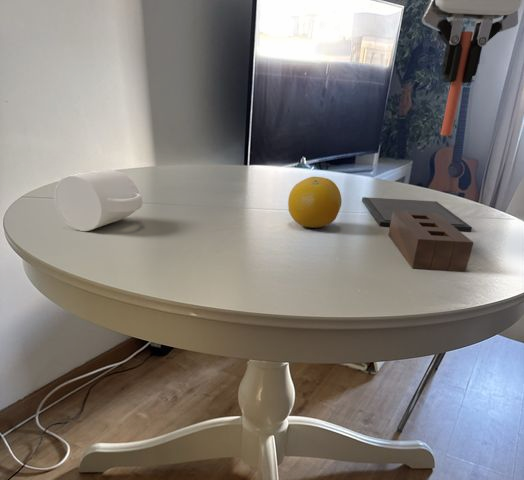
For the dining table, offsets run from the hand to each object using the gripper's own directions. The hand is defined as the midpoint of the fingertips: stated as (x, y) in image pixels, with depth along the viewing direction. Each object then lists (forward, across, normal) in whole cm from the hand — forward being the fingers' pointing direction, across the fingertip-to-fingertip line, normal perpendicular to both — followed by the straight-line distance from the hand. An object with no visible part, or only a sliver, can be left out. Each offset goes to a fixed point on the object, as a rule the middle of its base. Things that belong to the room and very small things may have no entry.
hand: (456, 81), depth 63 cm
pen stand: (+22, -1, -3) cm, 23 cm away
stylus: (+7, 0, 0) cm, 7 cm away
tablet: (+22, +4, +22) cm, 32 cm away
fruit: (+22, -17, +8) cm, 29 cm away
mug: (+22, -50, +2) cm, 54 cm away
